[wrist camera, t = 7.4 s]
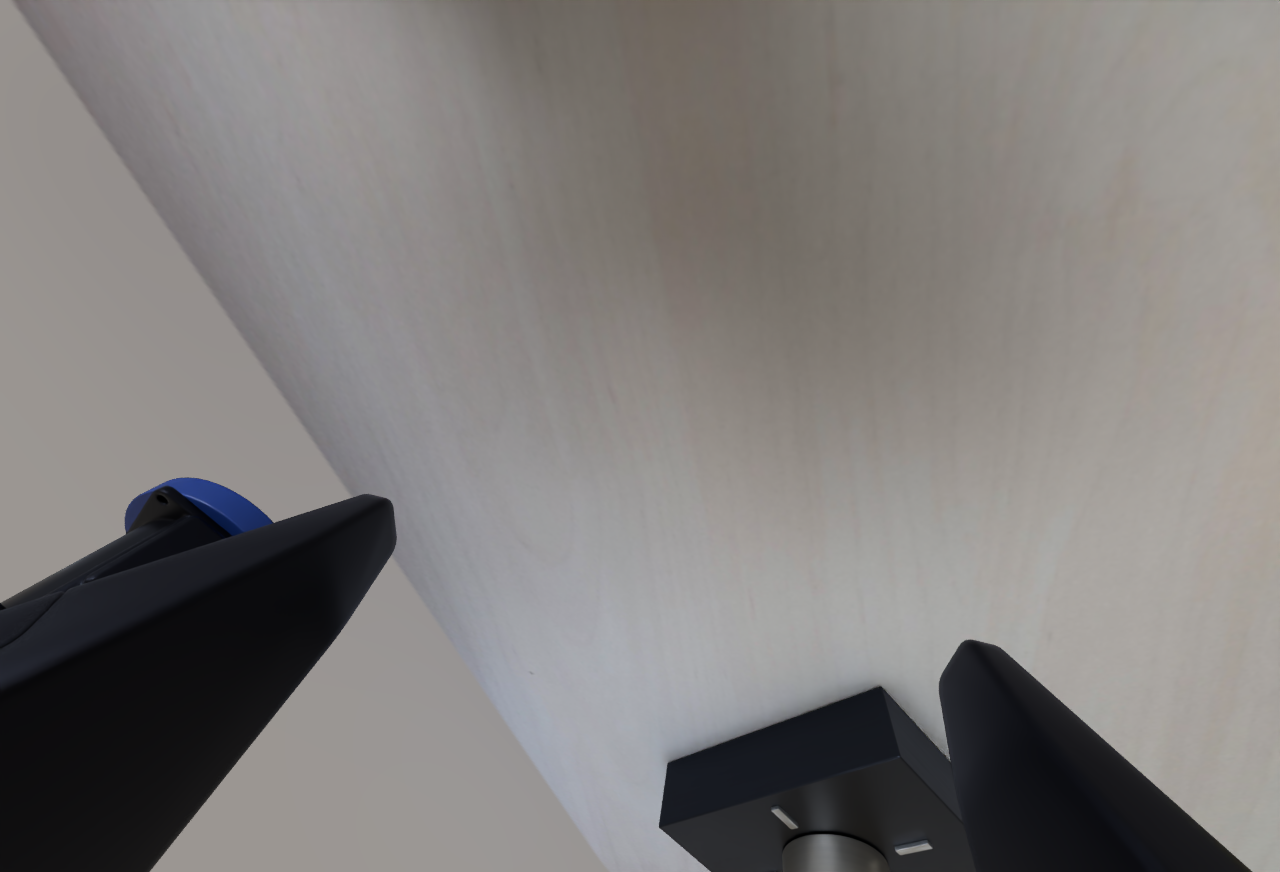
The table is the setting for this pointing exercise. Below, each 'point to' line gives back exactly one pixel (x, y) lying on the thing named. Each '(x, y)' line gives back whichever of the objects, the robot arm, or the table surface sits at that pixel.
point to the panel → (820, 791)
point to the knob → (831, 855)
